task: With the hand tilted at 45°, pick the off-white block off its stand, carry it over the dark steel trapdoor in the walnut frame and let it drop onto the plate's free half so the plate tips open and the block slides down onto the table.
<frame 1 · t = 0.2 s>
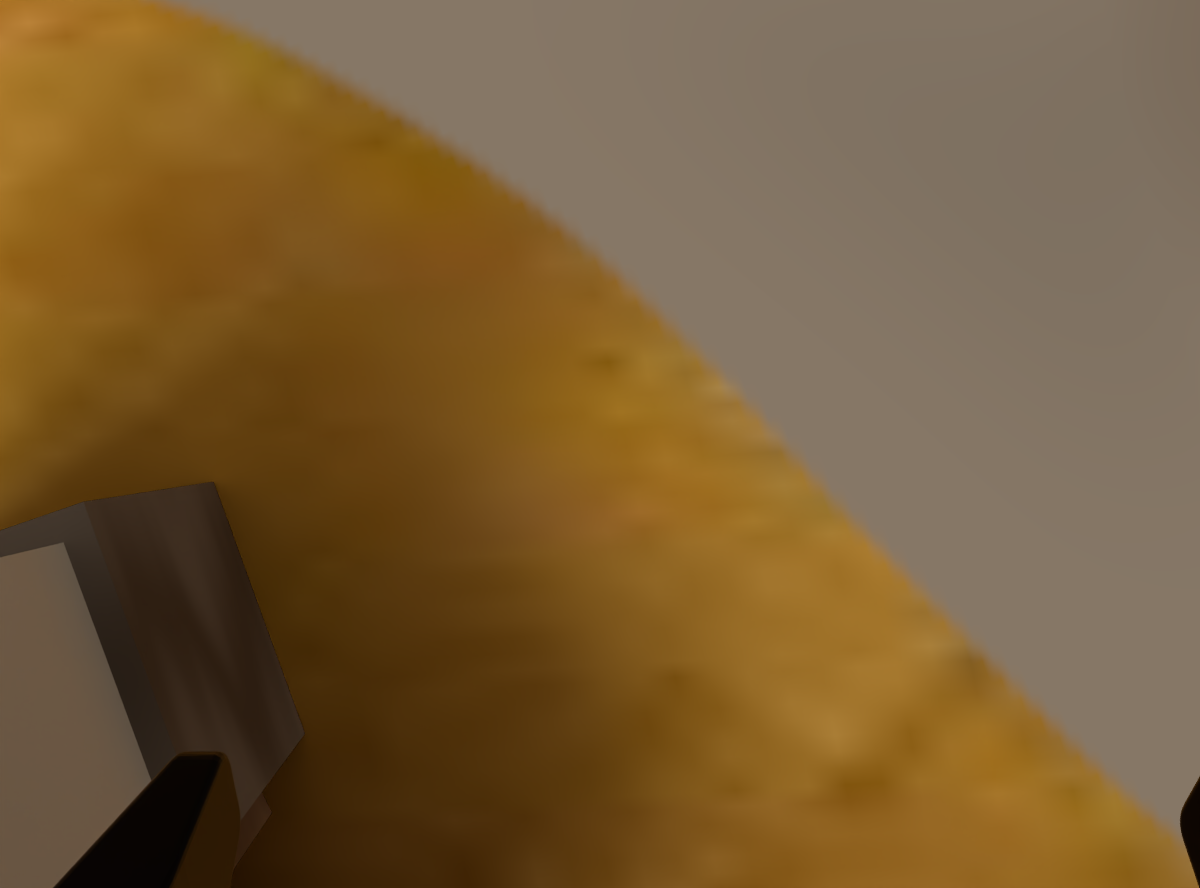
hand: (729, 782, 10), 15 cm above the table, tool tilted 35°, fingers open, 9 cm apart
stone stand: (118, 658, 24), on the table
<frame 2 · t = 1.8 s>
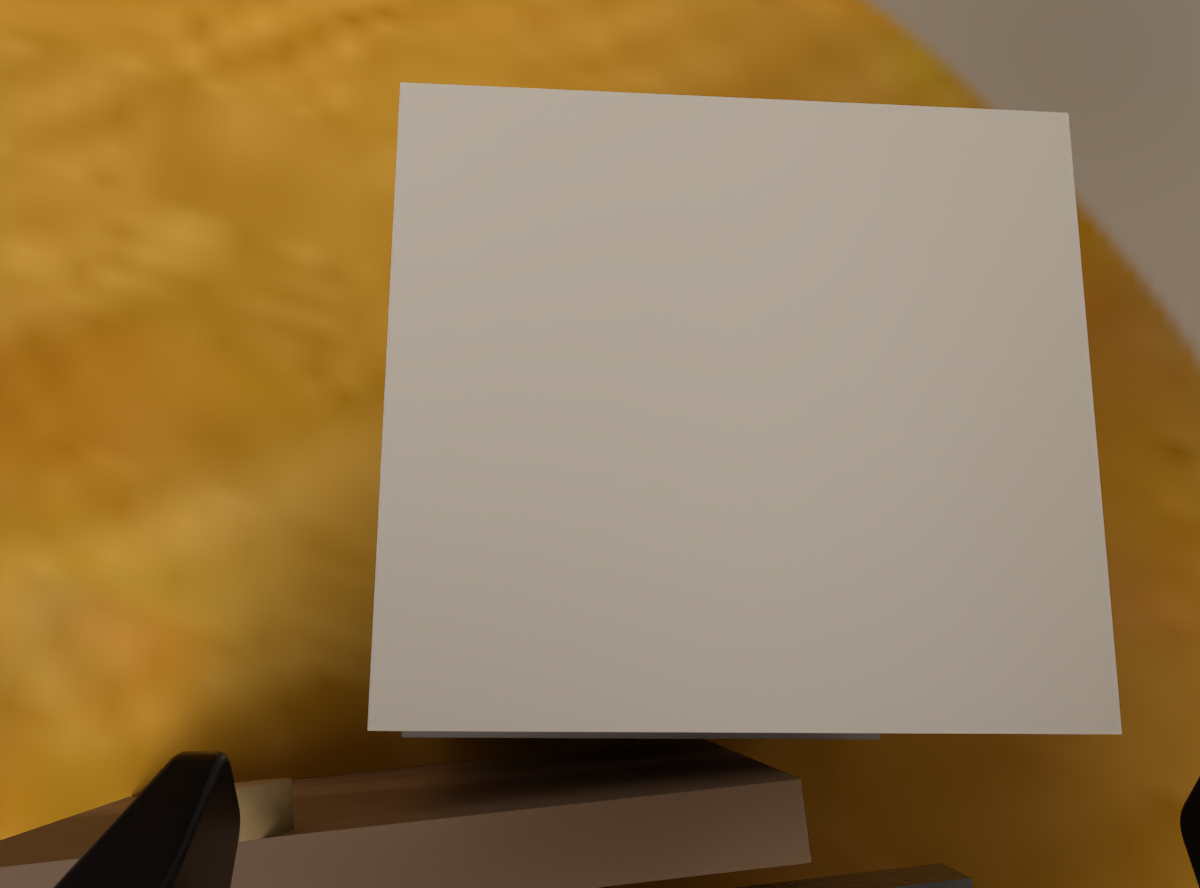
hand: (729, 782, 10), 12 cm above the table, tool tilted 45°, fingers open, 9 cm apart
off-white block: (644, 517, 15), point 7 cm above the table, touching stone stand
stone stand: (606, 563, 22), on the table
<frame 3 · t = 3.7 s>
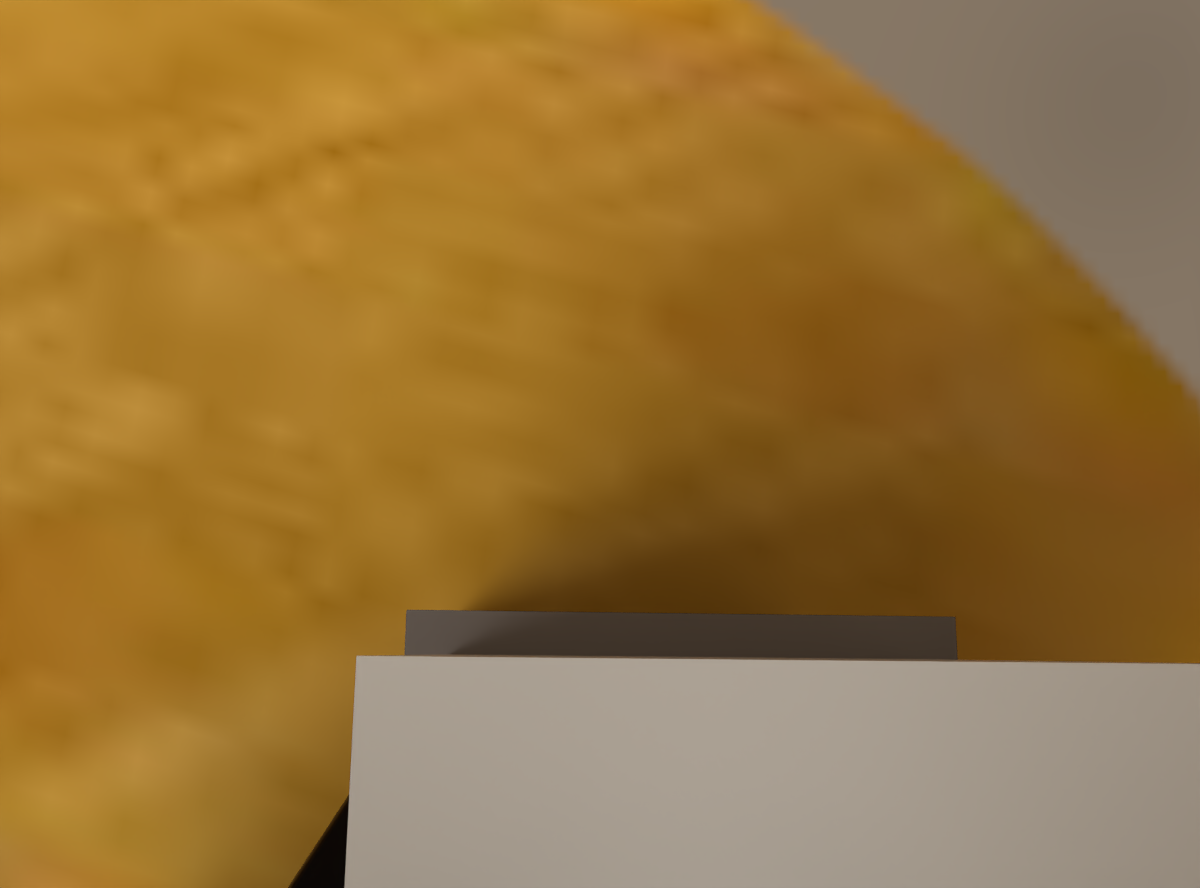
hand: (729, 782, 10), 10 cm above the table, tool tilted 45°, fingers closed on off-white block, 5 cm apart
off-white block: (687, 884, 12), point 7 cm above the table, touching gripper, stone stand
stone stand: (627, 800, 19), on the table
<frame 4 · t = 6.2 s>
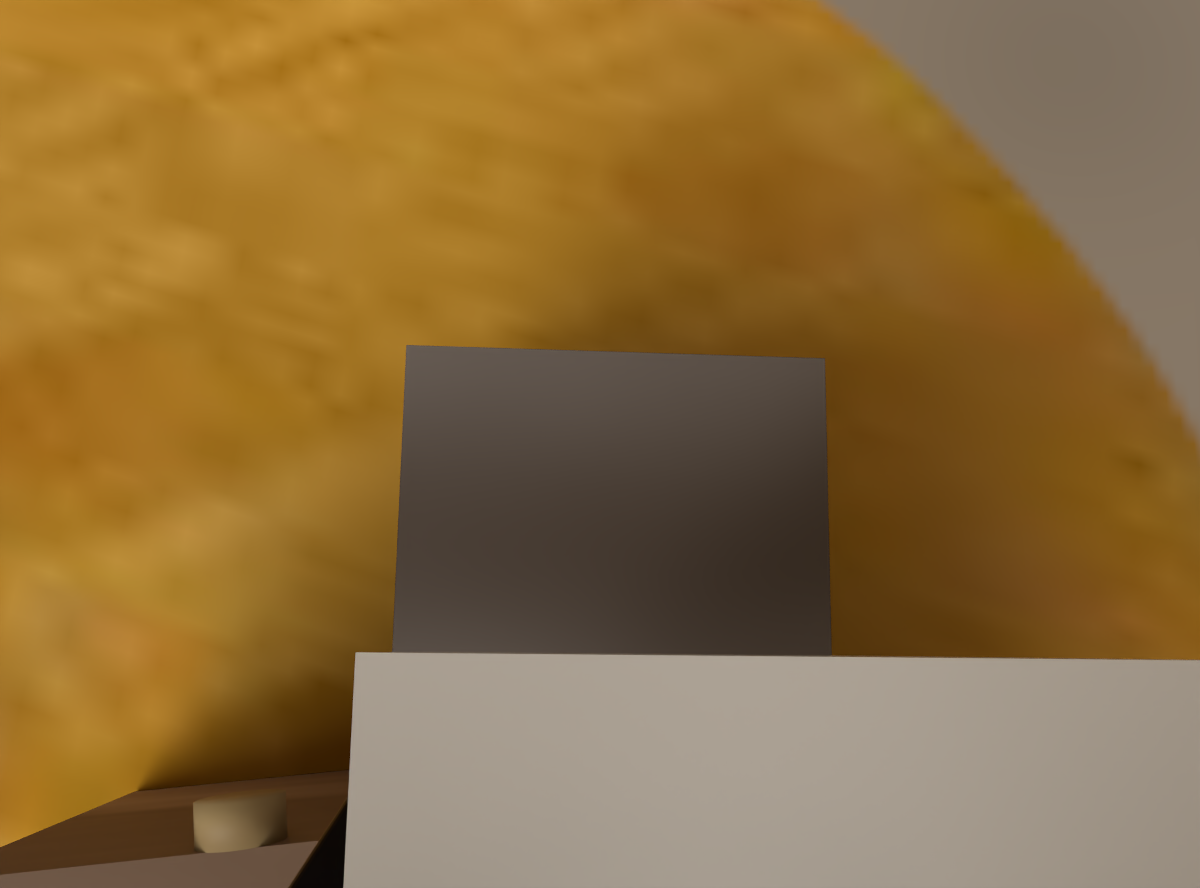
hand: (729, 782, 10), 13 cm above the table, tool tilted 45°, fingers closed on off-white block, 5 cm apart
off-white block: (686, 881, 12), point 10 cm above the table, touching gripper
stone stand: (588, 571, 23), on the table
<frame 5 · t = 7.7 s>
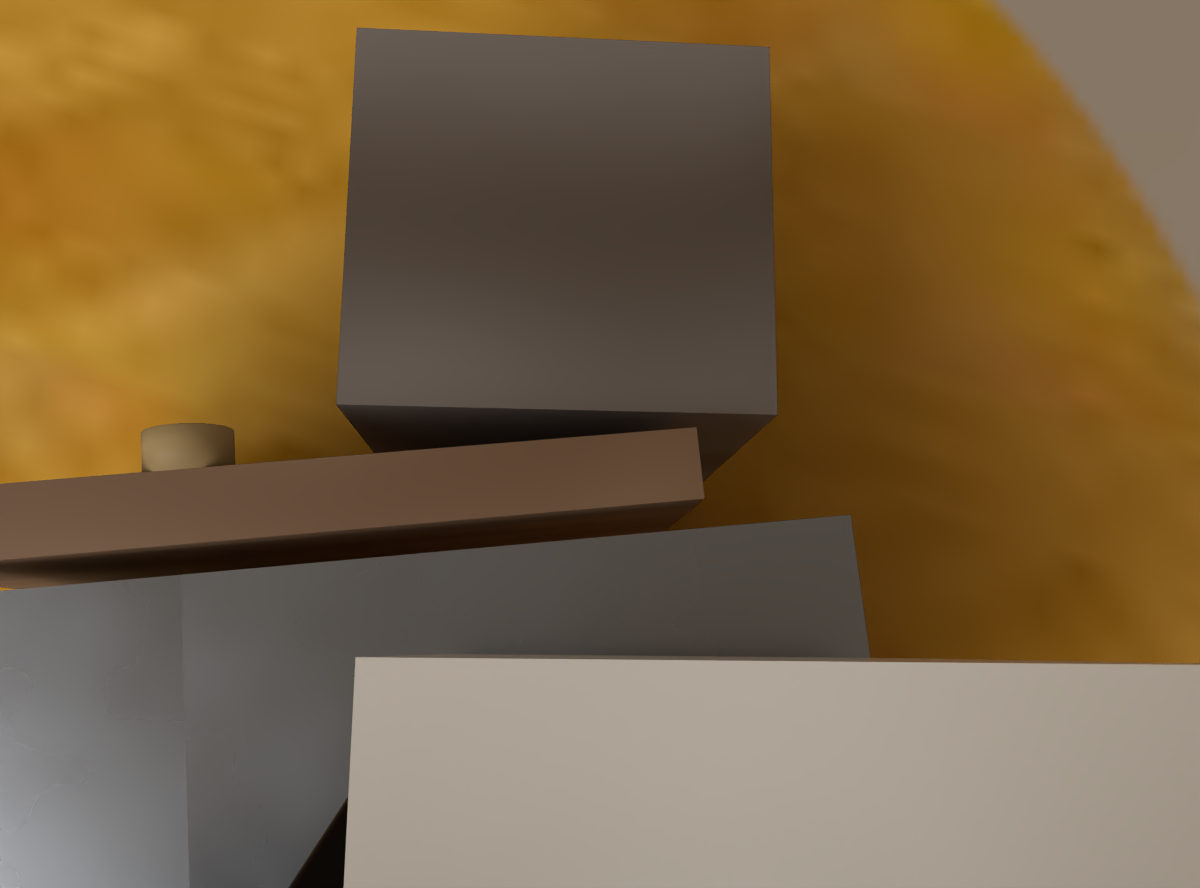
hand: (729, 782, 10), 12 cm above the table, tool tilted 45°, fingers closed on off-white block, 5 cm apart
off-white block: (687, 883, 12), point 10 cm above the table, touching gripper
stone stand: (551, 343, 23), on the table
trapdoor frame: (313, 802, 21), on the table
trapdoor: (432, 831, 16), point 5 cm above the table, hinge at 0.0°
when the fingers open (12 cm above the table, at t = 8.7 s): off-white block drops 3 cm, resting on trapdoor.
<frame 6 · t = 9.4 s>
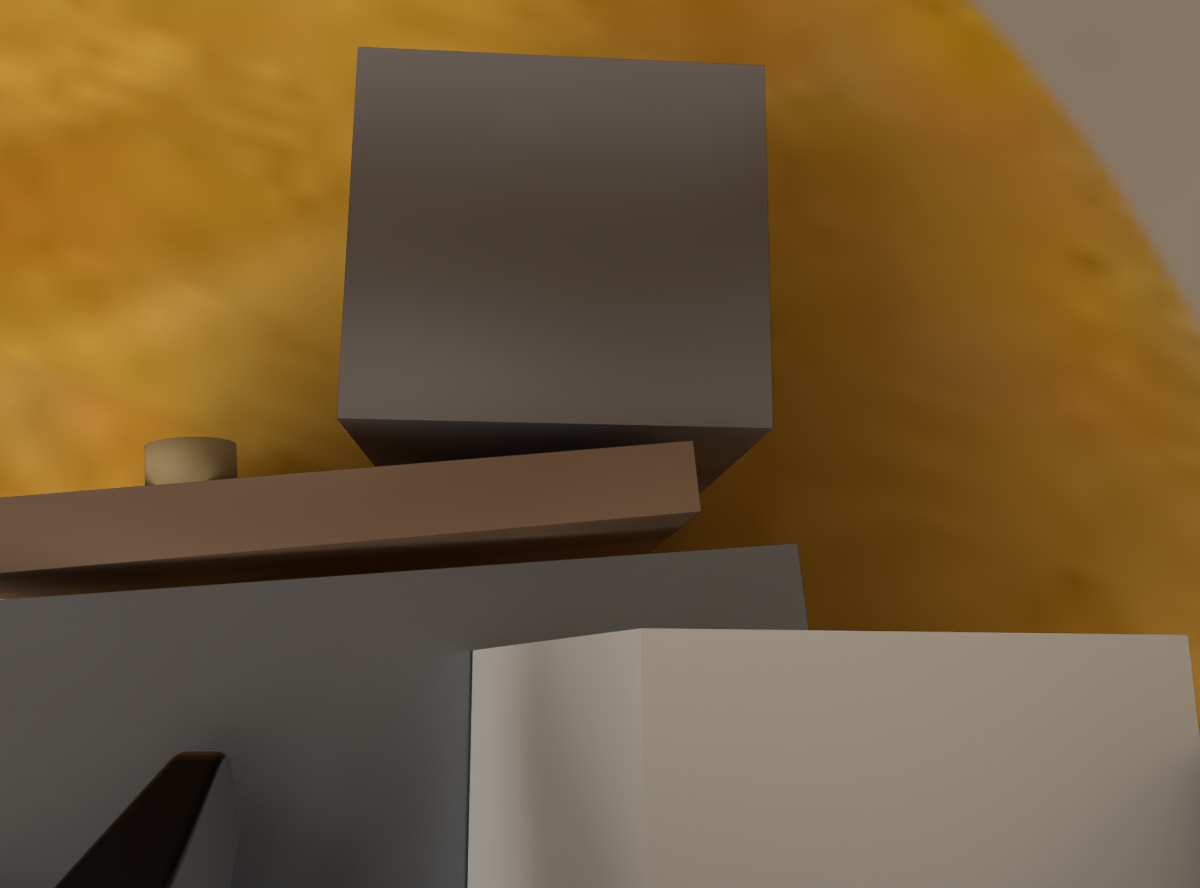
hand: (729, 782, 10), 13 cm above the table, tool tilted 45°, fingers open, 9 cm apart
off-white block: (658, 829, 15), point 7 cm above the table, tilted 14°, touching gripper, trapdoor
stone stand: (549, 356, 23), on the table
trapdoor frame: (313, 813, 21), on the table
trapdoor: (393, 839, 17), point 4 cm above the table, hinge at -13.7°, touching off-white block
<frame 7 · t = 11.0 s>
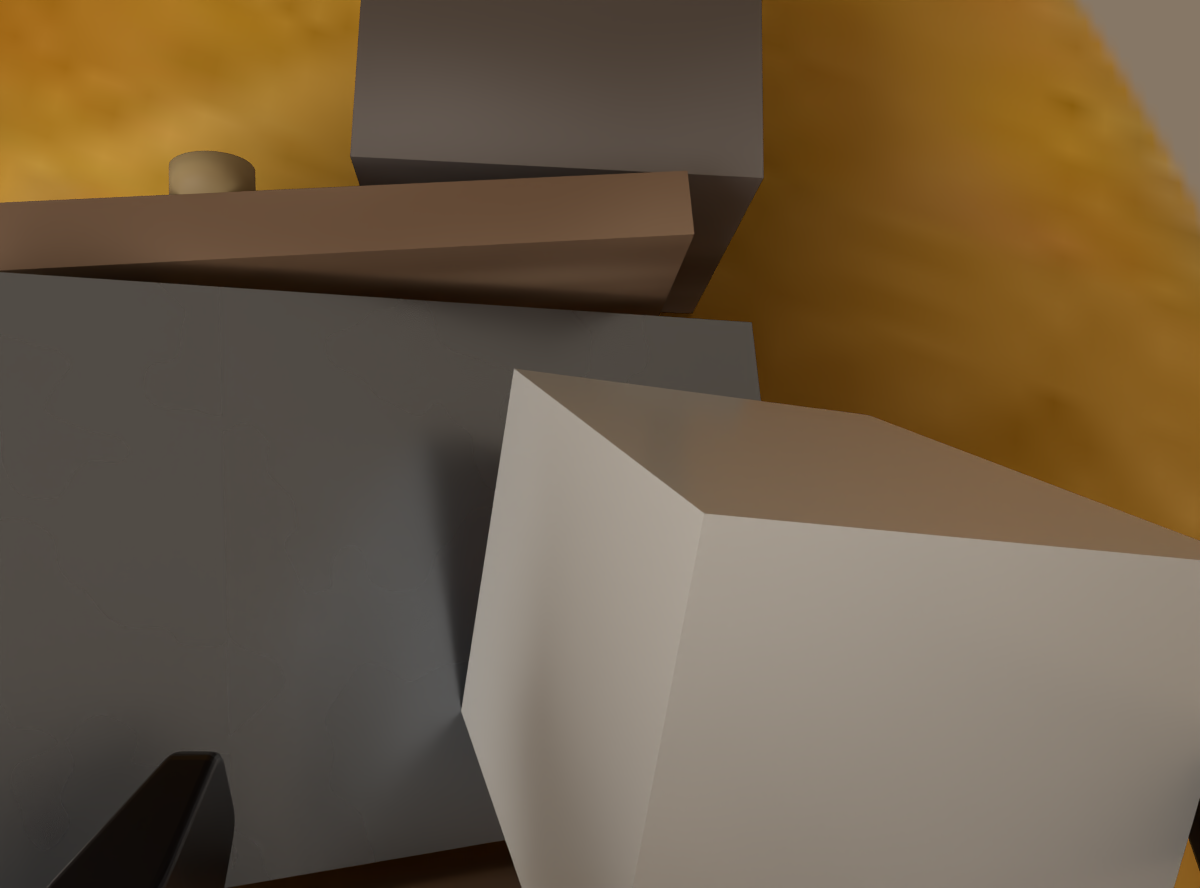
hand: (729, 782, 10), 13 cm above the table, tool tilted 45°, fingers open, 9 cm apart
off-white block: (669, 559, 16), point 7 cm above the table, tilted 26°, touching gripper, trapdoor
stone stand: (550, 180, 24), on the table
trapdoor frame: (318, 600, 22), on the table
trapdoor: (373, 580, 18), point 4 cm above the table, hinge at -21.6°, touching off-white block
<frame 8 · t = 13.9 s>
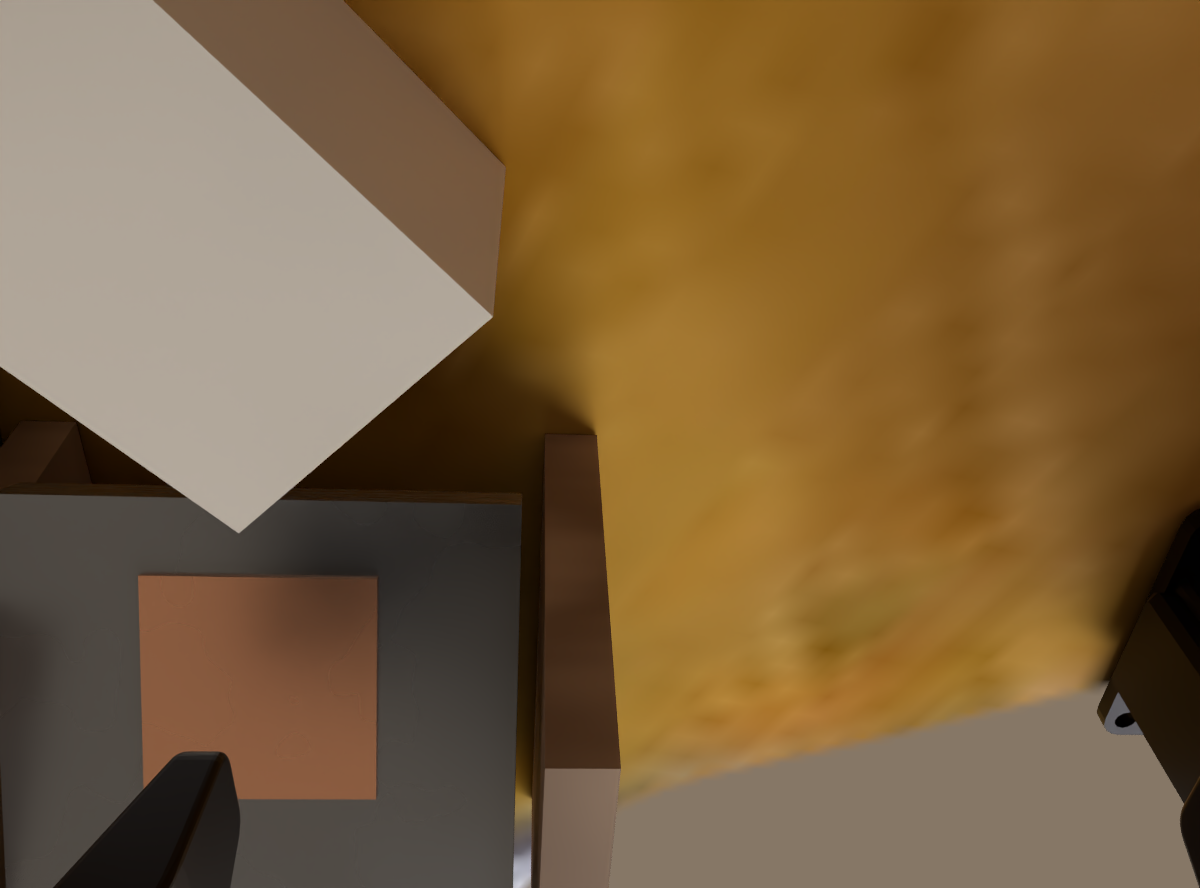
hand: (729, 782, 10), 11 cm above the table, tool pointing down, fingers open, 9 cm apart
off-white block: (383, 333, 16), point 3 cm above the table, tilted 90°
trapdoor frame: (341, 686, 24), on the table
trapdoor: (301, 796, 20), point 4 cm above the table, hinge at -26.0°
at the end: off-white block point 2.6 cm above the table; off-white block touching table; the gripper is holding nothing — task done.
